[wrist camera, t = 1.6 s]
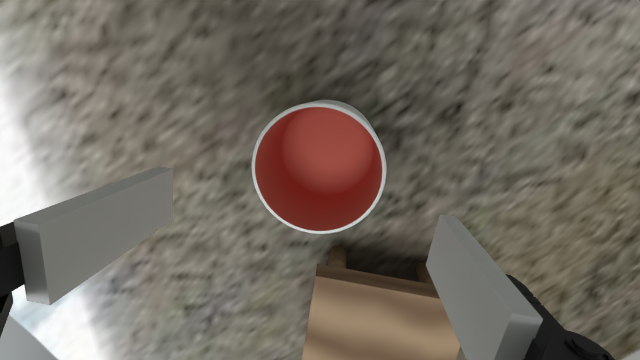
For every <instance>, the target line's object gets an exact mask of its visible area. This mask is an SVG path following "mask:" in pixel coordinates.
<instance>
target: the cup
mask: <svg viewBox="0 0 640 360" xmlns="http://www.w3.org/2000/svg"><path fill="white" fill-rule="evenodd" d="M252 176H253V181H254V185H255V188H256V190H257V193H258V195H259V197H260V199H261V200H262V202H263V204H264V205H265V206H266V208H267V209H268V210H269V211H270V212H271V213H272V214H273V215H274V216H275V217H276V218H277V219H279V220H280V221H281V222H283V223H285V224H286V225H288V226H290V227H292V228H295V229H297V230H300V231H304V232H309V233H316V234H326V233H334V232H338V231H341V230H345V229H347V228H349V227H351V226H353V225H355V224H357V223H358V222H360V221H361V220H362V219H364V218H365V217H366V216H367V215H368V214H369V213H370V212H371V211H372V209H373V208H374V207H375V205H376V204H377V202H378V201H379V199H380V196H381V194H382V192H383V189H384V185H385V181H386V159H385V154H384V151H383V148H382V145H381V143H380V141H379V139H378V137H377V135H376V133H375V132H374V130H373V128H372V126H371V125H370V123H369V122H368V120H367V119H366V118H365V117H364V115H363V114H362V113H360V112H359V111H358V110H357V109H355V108H354V107H352V106H350V105H348V104H346V103H344V102H340V101H336V100H318V101H313V102H309V103H304V104H300V105H297V106H294V107H291V108H289V109H287V110H285V111H283V112H282V113H280V114H279V115H277V116H276V117H275V118H273V119H272V120H271V121H270V122H269V123H268V124H267V126H266V127H265V128H264V129H263V131H262V133H261V134H260V136H259V138H258V140H257V142H256V145H255V148H254V152H253V157H252Z"/></svg>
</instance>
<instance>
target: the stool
mask: <svg viewBox="0 0 640 360" xmlns="http://www.w3.org/2000/svg"><path fill="white" fill-rule="evenodd" d="M346 258H347V252H346V250H345V249H344V248H343V247H342V246H334V247H332V248H331V249H330V252H329V259H328V265H323V264H318V265H317V270H316V275H315V281H314V288H313V294H312V300H311V306H310V313H309V319H308V325H307V332H306V338H305V344H304V350H303V357H302V360H456V357H457V354H458V351H459V348H460V343H459V341H458V339H457V336H456V334H455V332H454V329H453V327H452V325H451V323H450V320H449V318H448V316H447V313H446V311H445V309H444V306H443V304H442V302H441V299H440V297H439V295H438V292H437V290H436V288H435V285H434V283H433V281H432V279H431V276H430V274H429V272H428V269H427V267H426V262H427V261H422V262H420V263H418V264H417V265H416V268H415V270H416V273H417V276H418V279H419V282H416V281H410V280H405V279H399V278H394V277H388V276H383V275H377V274H372V273H366V272H361V271H355V270H350V269H346Z"/></svg>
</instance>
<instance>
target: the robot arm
mask: <svg viewBox="0 0 640 360" xmlns="http://www.w3.org/2000/svg"><path fill="white" fill-rule="evenodd" d="M172 220H173V169H171V168H165V167H159V166H158V167H155V168H153V169H150V170H147V171H144V172H142V173H139V174H136V175H134V176H131V177H128V178H126V179H123V180H120V181H118V182H115V183H112V184H109V185H107V186H104V187H101V188H99V189H96V190H93V191H91V192H88V193H85V194H82V195H80V196H77V197H74V198H72V199H69V200H66V201H64V202H61V203H58V204H56V205H53V206H50V207H47V208H45V209H42V210H39V211H37V212H34V213H31V214H29V215H26V216H23V217H20V218H18V219H15V220H14V222H11V223H9V224H6V225H3V226H1V227H0V336H1V334H2V331H3V328H4V326H5V323H6V320H7V317H8V315H9V312H10V309H11V307H12V304H13V297H12V291H13V290H15V289H17V288H18V287H20V286H22V285H23V284H24V285H25V291H26V297H27V301H31V302H36V303H41V304H46V305H51V304H53V303H54V302H55V301H57V300H58V299H60V298H61V297H63V296H64V295H65V294H67V293H68V292H70V291H71V290H73V289H74V288H76V287H77V286H78V285H80V284H81V283H83V282H84V281H86V280H87V279H88V278H90V277H91V276H93V275H94V274H96V273H97V272H98V271H100V270H101V269H103V268H104V267H106V266H107V265H108V264H110V263H111V262H113V261H114V260H116V259H117V258H119V257H120V256H121V255H123V254H124V253H126V252H127V251H129V250H130V249H131V248H133V247H134V246H136V245H137V244H139V243H140V242H141V241H143V240H144V239H146V238H147V237H149V236H150V235H151V234H153V233H154V232H156V231H157V230H159V229H160V228H162V227H163V226H164V225H166V224H167V223H169V222H170V221H172ZM426 267H427V269H428V272H429V274H430V276H431V279H432V281H433V283H434V285H435V288H436V290H437V292H438V295H439V297H440V299H441V302H442V304H443V306H444V309H445V311H446V313H447V316H448V318H449V320H450V323H451V325H452V327H453V329H454V332H455V334H456V336H457V339H458V341H459V343H460V346H461V348H462V350H463V353H464V355H465V357H466V360H615V359H614V358H613V357H612V356H611V355H610V353H608V352H607V351H606V350H605V349H603V348H602V347H601V346H599V345H598V344H596V343H595V342H593V341H591V340H590V339H588V338H586V337H584V336H581V335H579V334H577V333H575V332H571V331H567V330H565V329H564V328H563V327H562V326H561V325H560V324H559V323H558V322H557V321H556V319H555V318H554V317H553V316H552V315H551V314H550V313H549V312H548V311H547V310H546V308H545V307H544V306H542V305H541V303H540V302H539V301H538V300H537V298H536V297H533V294H532V293H531V292H530V291H529V290H528V288H527V287H526V286H525V285H524V284H522V283H521V282H519V281H518V280H517V279H515V278H514V277H512V276H511V275H507V274H504V272H503V271H502V270H501V269H500V268H499V266H498V265H497V264H496V263H495V262H494V261H493V259H492V258H491V257H490V256H489V255H488V254H487V252H486V251H485V250H484V249H483V248H482V246H481V245H480V244H479V243H478V242H477V241H476V239H475V238H474V237H473V236H472V235H471V234H470V232H469V231H468V230H467V229H466V228H465V227H464V225H463V224H462V223H461V222H460V221H459V219H458V218H457V217H453V216H447V215H442V214H440V216H439V219H438V223H437V226H436V230H435V234H434V237H433V241H432V244H431V248H430V251H429V255H428V259H427V262H426Z"/></svg>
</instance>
